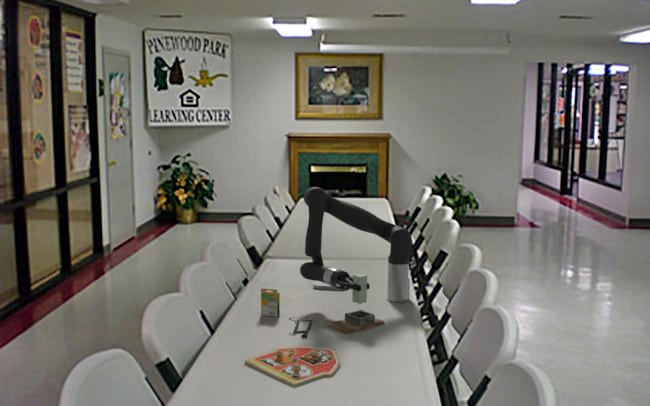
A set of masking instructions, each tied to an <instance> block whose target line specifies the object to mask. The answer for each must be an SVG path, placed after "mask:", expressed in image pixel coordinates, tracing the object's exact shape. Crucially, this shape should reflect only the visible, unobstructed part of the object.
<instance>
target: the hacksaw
mask: <svg viewBox="0 0 650 406" xmlns="http://www.w3.org/2000/svg"><path fill="white" fill-rule="evenodd" d="M292 318H293V319H292ZM294 319H296V320H294ZM288 320H289V321H294V322H295V323H294V324H295V327H294V330H293V332H292V334H293V335H296V334H300V333H302V334H301V338H303V339H307V338H308V334H309V332H310V330H311V327H312V324H313V322H314V320H311V319H306V320H303V322H309V323H308V324H307V327H306V330H299V327H298V326H300V322H302V320H301V319H299V318H297V316H295V317H293V316H292V317H289V318H288ZM289 335H291V331H290V332H289Z"/></svg>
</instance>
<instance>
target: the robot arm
mask: <svg viewBox="0 0 650 406" xmlns="http://www.w3.org/2000/svg"><path fill="white" fill-rule="evenodd" d="M303 202H304V203H305V205H306V206H308V207H307V208H308V222H307V224H308V225H307V229H306V232H305V239H304V240H305V243H304V255H305V256H307V257H310V258H311V259H312V261H309V262H304V263H302V264H301V265H300V267H299V273H300V275H301V276H302V277H303V278H304V279H306V280H309V281H320V282H323V283H326V284H328V285H330V286H332V287H335V288H338V289H344V290H345V291H349V290H351V291H353V289H354V290H357V291H361V286H360V285H357V284H354V283H353V276H351V277H350V275H349V274H350V273H349V272H347V271H345V270H341V269H339V268H334V267H330V266H326V265H324V260H323V256H322V255H323V254H322V242H323V241H322V239H323V223H324V222H323V221H324V216H325V213H327V214H329V215H331V216H332V217H333V218H336V219H337V220H339V221H341V222H342V223H344V224H346V225H348V226H349V227H352V228H354V229H355V230H359V231H362V232H365V233H369V234H372V235H375V236H378V237H380V238H381V239H382V240H385V241H386V242H388V243H389V244H390V253H389V255H388V258H387V259H388V260H387V292H386V293H387V295H386V296H387V298H386V299H387V300H388V302H393V303H404V302H407V301H408V300H410V288H411V287H410V286H411V285H410V284H411V283H410V281H411V278H409V270H410V269H409V267H410V265H409V263H410V257H411V251H412V250H411V249H412V237H411V233H410V232H409V230H407V229H406V228H404V227H403V226H400V225H397V224H394V223H391V222H388V221H386V220H383V219H381V218H380V217H378V216H377V215H375V214H373V213H372V212H371V211H369V210H366V209H365V208H362V207H360V206H358V205H355V204H353V203H350V202H347V201H344V200H340V199H338V198H336V197H334V196H331V195H330V194H327V192H326V190H324V189H323V188H321V187H317V186H311V187H309V188H307V189H306V190H305V191H304V193H303ZM348 273H349V274H348ZM370 287H371V285H370V283H368V282H367V290H370Z"/></svg>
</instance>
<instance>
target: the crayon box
mask: <svg viewBox="0 0 650 406" xmlns="http://www.w3.org/2000/svg"><path fill="white" fill-rule="evenodd" d="M260 302H261V303H260V315H261V316H264V317H265V316H266V317H275V318H278V317H279V316H280V315H281V313H280V306H281V305H280V303H281V301H280V292H278V289H271V288H262V287H261V288H260Z"/></svg>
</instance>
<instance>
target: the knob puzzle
mask: <svg viewBox="0 0 650 406" xmlns="http://www.w3.org/2000/svg"><path fill="white" fill-rule="evenodd" d="M244 365H246V366H249V367H251V368H252V369H255V370H257V371H259V372H261V373H263V374H265V375H267V376H270V377H272V378H274V379H276V380H278V381H280V382H282V383H285V384H287V385H289V386H291V387H293V388H295V387H299V386H301V385H305V384H306V383H309V382H313V381H315V380H319V379H321V378H322V379H323V378H331V377H333V376H334V375H335V373H336V372H337V371H338V369H339V368H340V367H341V360H340V357H339V355H338V352H337V351H336V350H335V349H333V348H326V347H318V346H317V347H315V346H303V345H299V346H297V345H296V346H284V347H282V346H281V347H275V348H273V349H272V350H270V351H268V352H265V353H262V354H258V355H256V356H253V357H250V358H247V359H245V360H244Z"/></svg>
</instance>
